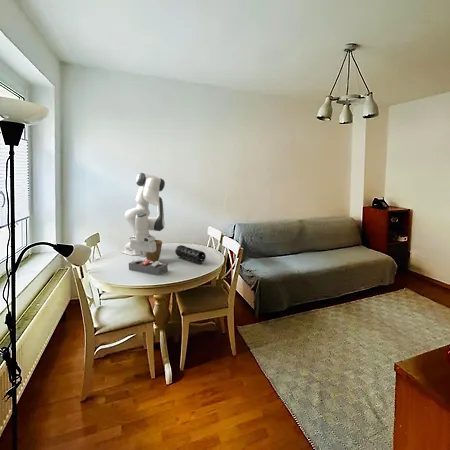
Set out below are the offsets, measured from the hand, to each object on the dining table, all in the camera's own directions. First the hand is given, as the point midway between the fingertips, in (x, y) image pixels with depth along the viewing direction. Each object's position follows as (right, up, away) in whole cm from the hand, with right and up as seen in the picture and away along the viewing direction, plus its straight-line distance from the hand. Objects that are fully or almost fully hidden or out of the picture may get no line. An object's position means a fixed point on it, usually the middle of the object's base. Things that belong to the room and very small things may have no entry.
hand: (143, 256), depth 204 cm
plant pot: (+1, -7, +26) cm, 27 cm away
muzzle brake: (+29, -6, +29) cm, 41 cm away
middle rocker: (+1, -5, +3) cm, 6 cm away
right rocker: (+9, -5, 0) cm, 10 cm away
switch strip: (+2, -10, +6) cm, 12 cm away
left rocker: (-6, -4, +6) cm, 10 cm away
